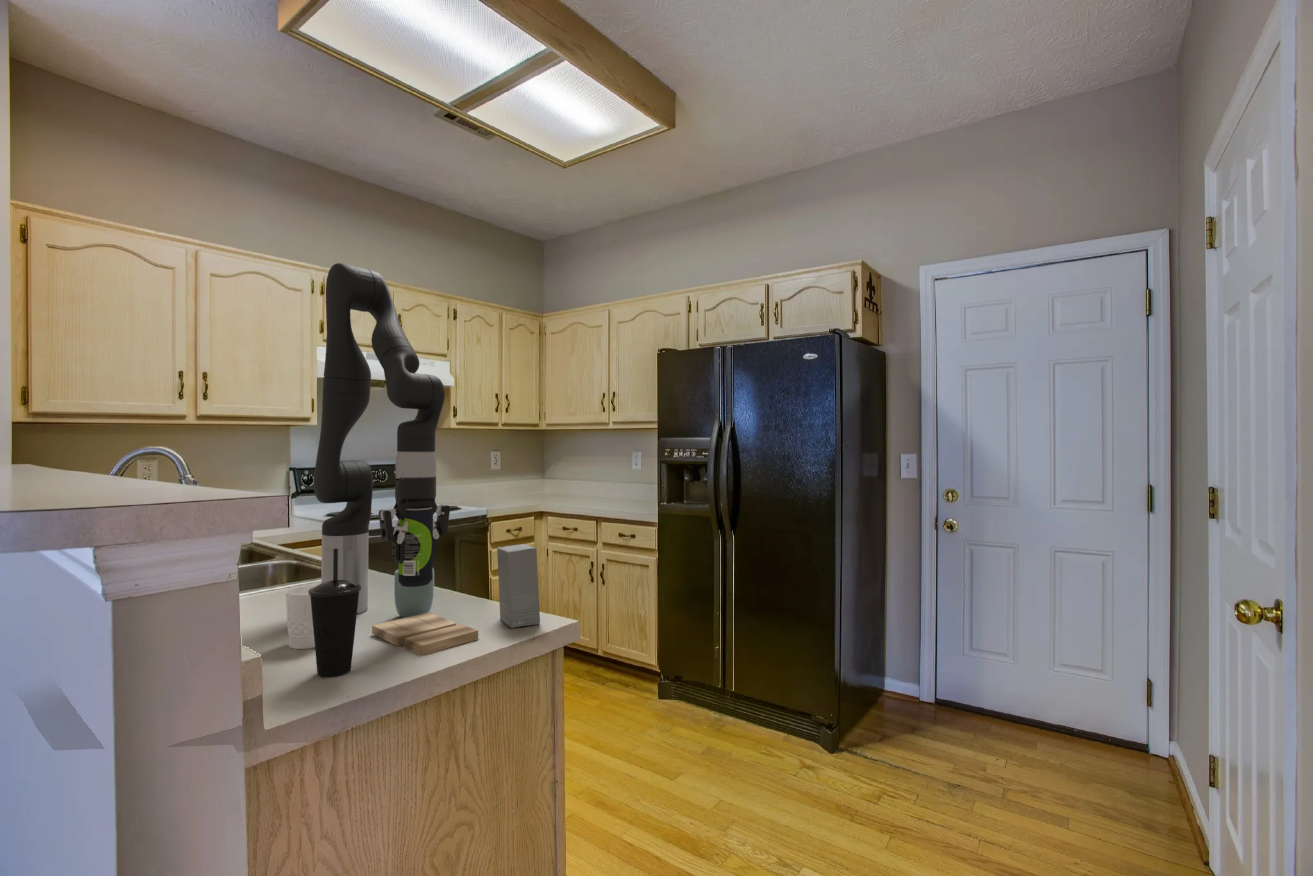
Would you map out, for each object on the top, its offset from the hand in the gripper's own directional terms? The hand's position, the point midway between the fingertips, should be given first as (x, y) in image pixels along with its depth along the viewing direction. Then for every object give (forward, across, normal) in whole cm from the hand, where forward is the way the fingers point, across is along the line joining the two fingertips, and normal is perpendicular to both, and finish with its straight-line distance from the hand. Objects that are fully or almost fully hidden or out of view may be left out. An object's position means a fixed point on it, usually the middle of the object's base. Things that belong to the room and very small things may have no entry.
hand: (415, 560), depth 120 cm
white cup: (+14, +16, -9) cm, 23 cm away
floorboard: (+14, 0, +10) cm, 17 cm away
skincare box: (+15, -18, +9) cm, 25 cm away
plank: (+14, 0, 0) cm, 14 cm away
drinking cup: (+15, +19, +9) cm, 26 cm away
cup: (+14, -6, -11) cm, 19 cm away
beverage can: (+5, 0, 0) cm, 5 cm away
